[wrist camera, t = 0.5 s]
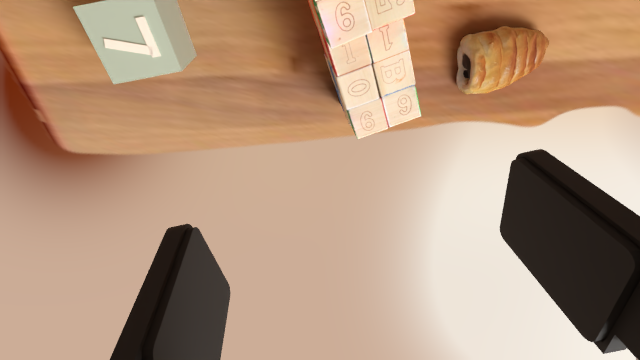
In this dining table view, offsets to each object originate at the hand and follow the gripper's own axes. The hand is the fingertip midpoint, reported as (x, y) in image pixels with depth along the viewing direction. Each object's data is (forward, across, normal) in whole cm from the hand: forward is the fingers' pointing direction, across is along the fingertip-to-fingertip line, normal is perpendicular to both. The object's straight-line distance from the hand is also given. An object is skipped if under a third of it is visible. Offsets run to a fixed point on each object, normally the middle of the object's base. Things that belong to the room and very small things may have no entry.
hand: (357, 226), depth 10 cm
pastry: (+28, -20, +5) cm, 35 cm away
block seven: (+28, +14, -4) cm, 32 cm away
